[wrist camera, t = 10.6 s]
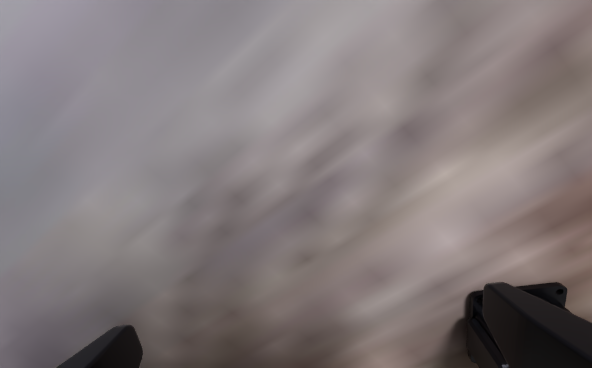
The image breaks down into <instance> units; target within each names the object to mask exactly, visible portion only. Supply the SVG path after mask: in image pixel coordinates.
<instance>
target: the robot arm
mask: <svg viewBox="0 0 592 368" xmlns="http://www.w3.org/2000/svg"><path fill="white" fill-rule="evenodd" d="M566 295H567V288H566V287H565V286H563V285H562V284H561V283H557V282H556V283H547V284H538V285H528V286H519V287H514V286H511V285H509V284H507V283H505V282H496V283H488V284H486V285H485V286H484V290H482V291H476V292H474V293H472V294H471V297H470V318H469V319H468V321H467V343H466V346H467V348H468V356H469V358H470V359H471V361H472V362H474V363H477V364H478V366H479V368H592V323H591V322H589V321H587V320H585V319H583V318H580V317H578V316H576V315H574V314H572V313H571V312H570V311H569V310H568V309H566V308H565V302H566ZM478 298H480V299H478ZM142 355H143V351H142V346H141V344H140V341H139V339H138V336H137V334H136V331H135V329H134V327H133V326H132V325H122V326H116V327H114V328H112V329H111V330H109V331H108V332H106V333H105V334H103V335H102V336H101V337H99V338H98V339H96V340H95V341H94V342H92V343H91V344H89V345H88V346H86V347H85V348H84V349H82V350H81V351H79V352H78V353H76V354H75V355H74V356H72V357H71V358H69V359H68V360H67V361H65V362H64V363H62V364H61V365H59V366H58V367H57V368H139V366H140V363H141V360H142Z"/></svg>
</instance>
